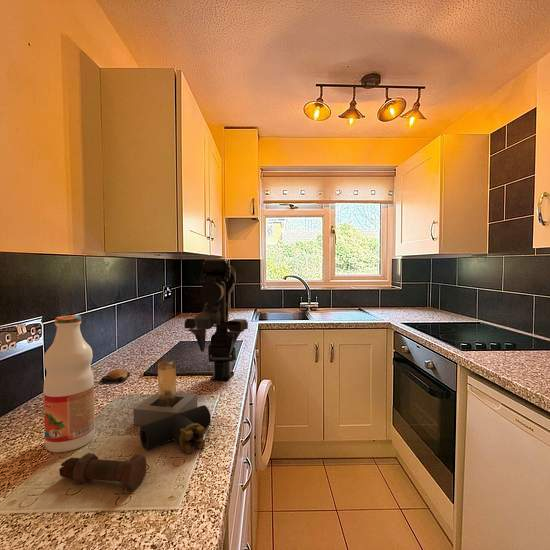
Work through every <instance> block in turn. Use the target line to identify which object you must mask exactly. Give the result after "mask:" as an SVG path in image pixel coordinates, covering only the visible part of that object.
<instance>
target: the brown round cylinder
mask: <svg viewBox="0 0 550 550" xmlns="http://www.w3.org/2000/svg"><path fill="white" fill-rule="evenodd" d="M176 365H177V363H176V360H162V361H160V362H157V392H158V406H161V407H173V406H175V405H176V392H177V366H176Z"/></svg>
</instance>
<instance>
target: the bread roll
mask: <svg viewBox="0 0 550 550" xmlns="http://www.w3.org/2000/svg"><path fill="white" fill-rule="evenodd" d="M130 376H131V372H129V371H126V370H125V369H123V368H115V369H112V370H111V371H109V372H107V374H106V375H105V376H103V377H101V378H100V381H101V385H118V384H119V385H120V384H124V383H125V382H126V381H127V380H128V379H129V378H130Z"/></svg>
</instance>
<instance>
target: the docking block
mask: <svg viewBox="0 0 550 550" xmlns="http://www.w3.org/2000/svg"><path fill="white" fill-rule="evenodd" d="M196 407H198V394H197V393H187V392H177V391H176V405H175V406H173V407H161V406H158V391H157V392H155V393H154V394H153V395H151V396H150V397H148V398H147V399H146V400H144V401H143V402H141V403H140V404H139V405H137V406H136V407H134V408H133V426H139V427H141V426H143V425H146V424H149V423H152V422H155V421H158V420H161V419H164V418H167V417H170V416H173V415H175V414H178V413H181V412H184V411H187V410H190V409H193V408H196Z"/></svg>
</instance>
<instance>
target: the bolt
mask: <svg viewBox="0 0 550 550" xmlns="http://www.w3.org/2000/svg"><path fill="white" fill-rule="evenodd" d="M147 468H148V467H147V459H146V457H145V456H144V455H143V454H142V453H134V454H133V456H132V457H130V458H129V459H128V460H115V459H114V460H113V459H99V457H98V456H97V455H96V454H95V453H94V452H93V453H92V452H87V453H86V454H84V455H82V456H80V457H69V458H68V459H66V460H64V461H62V462H61V463H60V468H59V469H58V470H59V471H58V472H59V476H60V477H62V478H66V479H67V478H68V479H73V481H74V482H75V483H76V484H78V485H82V486H83V485H84V486H85V485H87V484H89V483H90V482H91V481H93V480H94V481H105V482H115V483H117V482H118V483H120V484H121V485H122V487H123V488H124V489H125V491H127V492H134V491H136V490H138V488H139V487H140V486H141V485H142V484H143V481H144V479H145V477H146V473H147Z"/></svg>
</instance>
